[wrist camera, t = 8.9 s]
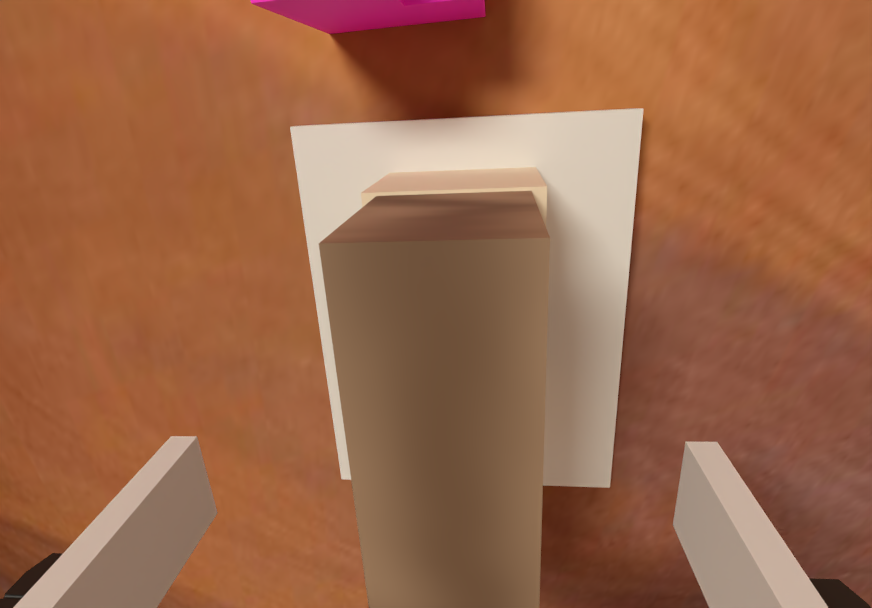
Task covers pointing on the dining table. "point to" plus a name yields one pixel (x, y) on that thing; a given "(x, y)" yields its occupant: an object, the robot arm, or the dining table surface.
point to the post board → (565, 222)
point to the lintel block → (443, 393)
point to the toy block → (372, 12)
